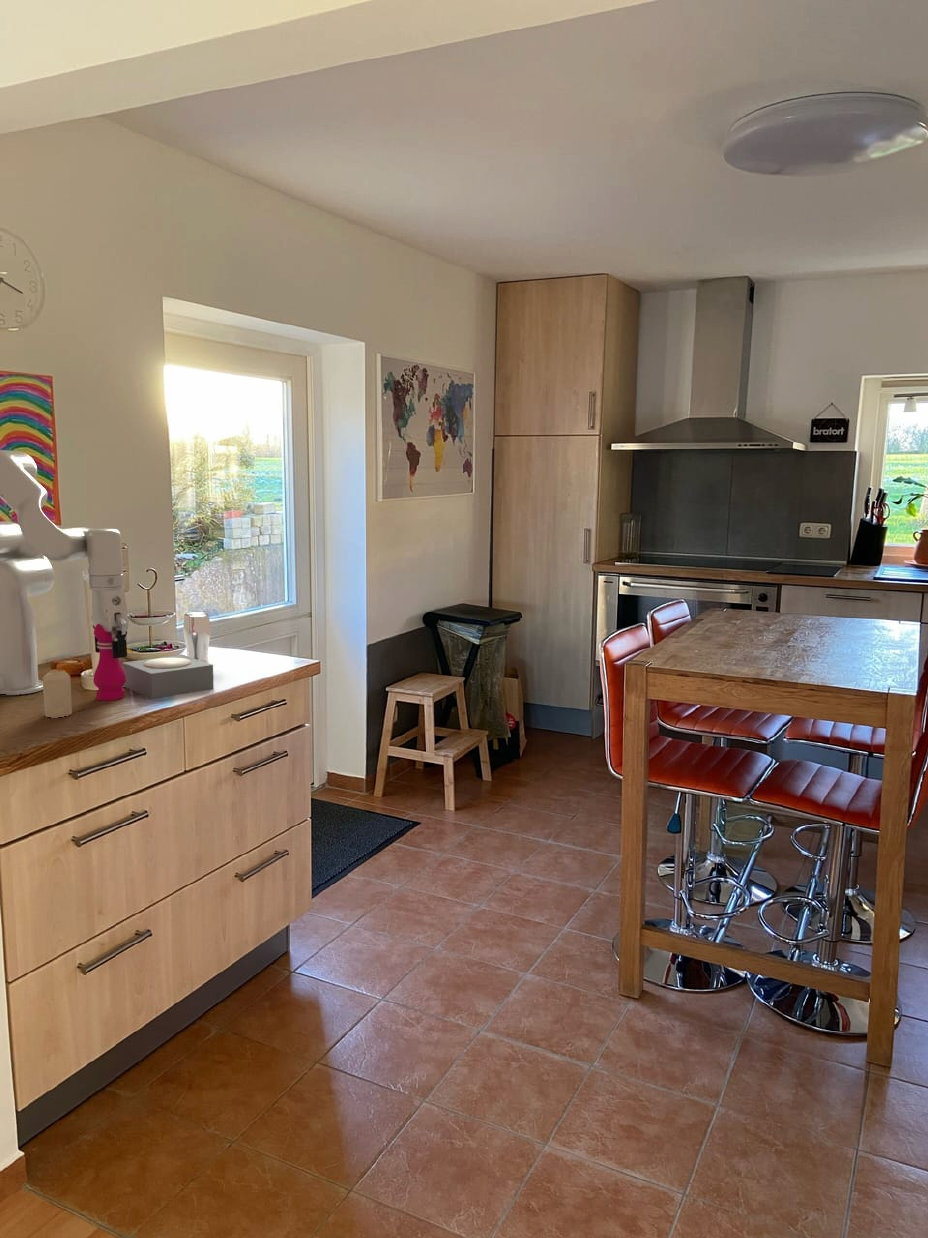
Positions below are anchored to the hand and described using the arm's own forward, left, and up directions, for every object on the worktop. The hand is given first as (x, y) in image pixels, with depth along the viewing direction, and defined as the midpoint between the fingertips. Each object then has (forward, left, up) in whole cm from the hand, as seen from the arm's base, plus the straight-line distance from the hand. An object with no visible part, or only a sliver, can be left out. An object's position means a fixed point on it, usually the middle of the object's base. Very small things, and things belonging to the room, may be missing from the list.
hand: (111, 654), depth 211 cm
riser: (+15, +2, -10) cm, 18 cm away
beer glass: (+31, +17, -11) cm, 36 cm away
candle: (-15, -7, -11) cm, 20 cm away
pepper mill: (0, +1, -11) cm, 11 cm away
